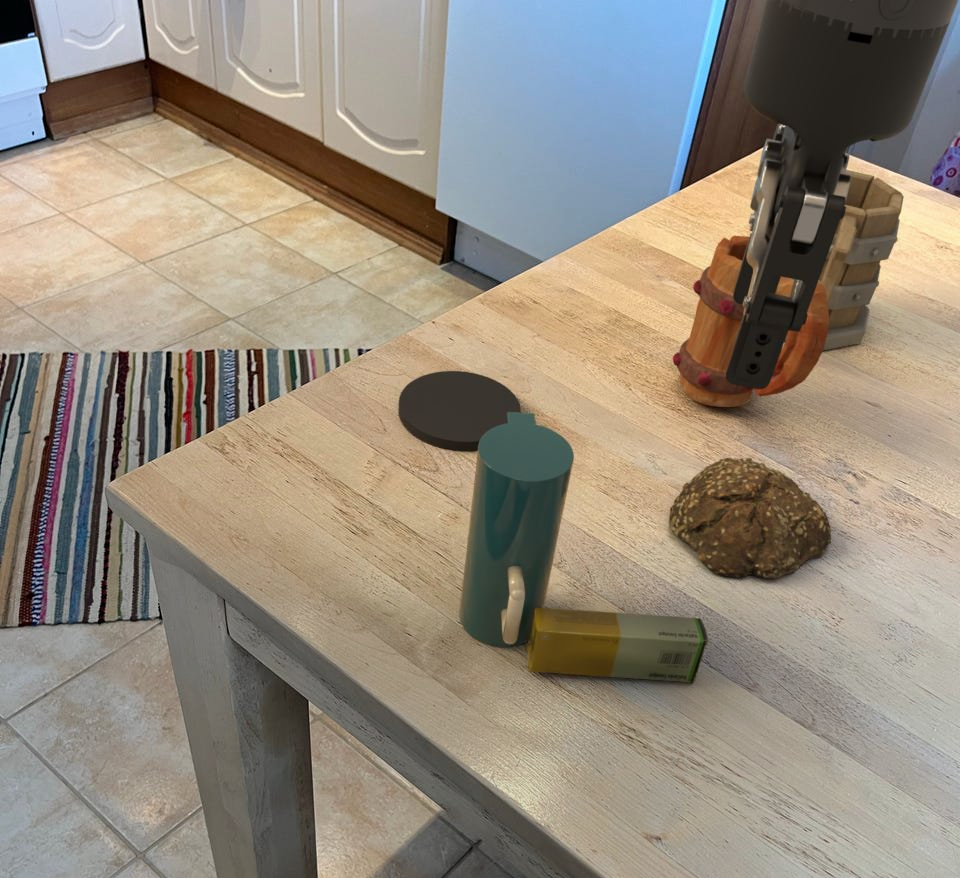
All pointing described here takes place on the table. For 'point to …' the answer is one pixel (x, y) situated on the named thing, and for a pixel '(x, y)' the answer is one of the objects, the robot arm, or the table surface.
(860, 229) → the tankard
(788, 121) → the robot arm
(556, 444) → the jug
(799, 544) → the bread roll
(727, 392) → the mug
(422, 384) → the disc
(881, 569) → the table surface
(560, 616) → the medication box
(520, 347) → the table surface
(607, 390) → the table surface
